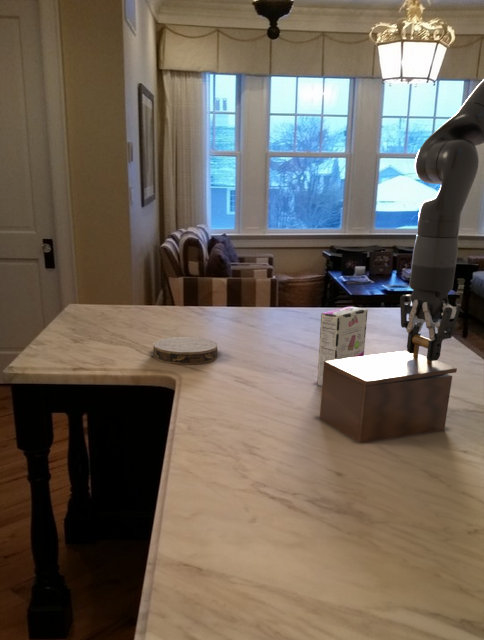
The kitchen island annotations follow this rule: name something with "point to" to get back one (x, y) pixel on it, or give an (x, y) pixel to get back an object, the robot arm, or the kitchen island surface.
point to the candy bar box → (341, 335)
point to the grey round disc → (185, 350)
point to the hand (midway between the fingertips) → (422, 356)
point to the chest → (384, 406)
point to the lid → (390, 365)
